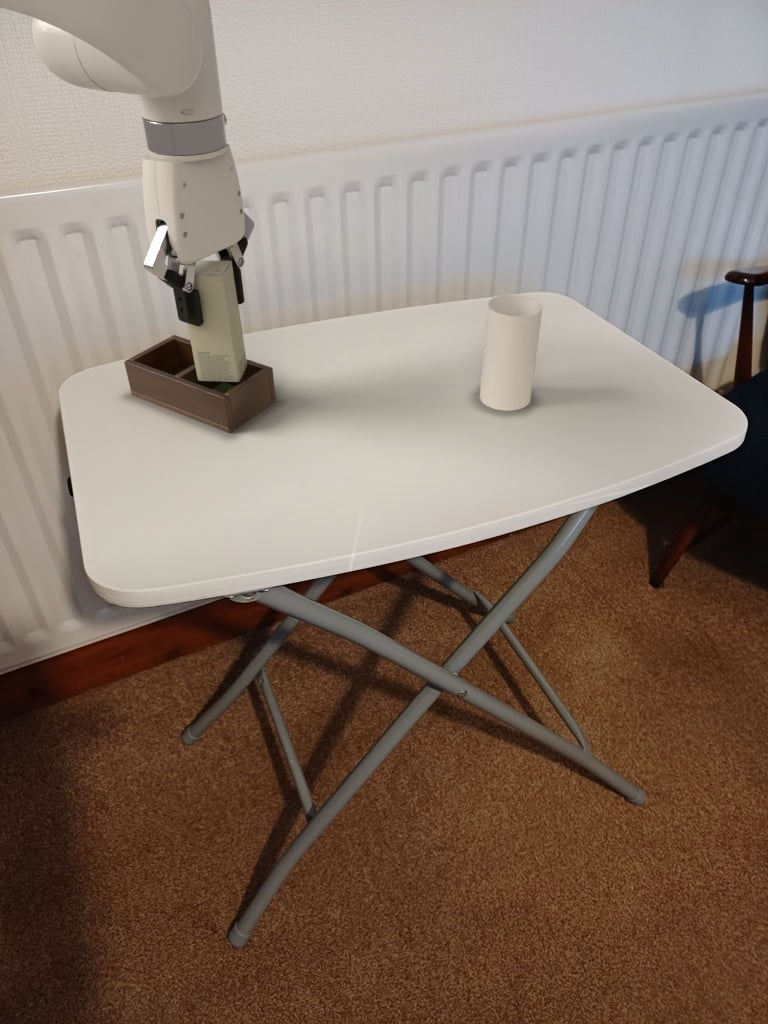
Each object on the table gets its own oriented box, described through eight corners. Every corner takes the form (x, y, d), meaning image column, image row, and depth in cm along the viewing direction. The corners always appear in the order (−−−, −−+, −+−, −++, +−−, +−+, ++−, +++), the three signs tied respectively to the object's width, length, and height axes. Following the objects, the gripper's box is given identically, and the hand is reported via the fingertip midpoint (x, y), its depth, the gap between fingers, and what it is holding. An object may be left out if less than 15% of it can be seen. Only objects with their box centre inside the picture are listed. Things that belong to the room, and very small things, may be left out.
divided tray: (229, 433, 90) (224, 398, 87) (131, 394, 96) (123, 361, 94) (276, 401, 95) (272, 367, 92) (180, 367, 102) (174, 334, 99)
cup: (493, 414, 93) (502, 320, 85) (471, 390, 97) (478, 298, 90) (539, 405, 94) (552, 312, 87) (516, 381, 99) (526, 290, 91)
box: (248, 366, 93) (235, 259, 85) (239, 384, 89) (225, 275, 81) (204, 364, 93) (188, 257, 85) (194, 382, 90) (175, 273, 82)
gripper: (218, 113, 82) (238, 278, 94) (88, 150, 71) (129, 333, 83) (273, 122, 79) (287, 292, 91) (147, 162, 68) (181, 351, 79)
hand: (212, 310), depth 86 cm, fingers closed on box, 5 cm apart
